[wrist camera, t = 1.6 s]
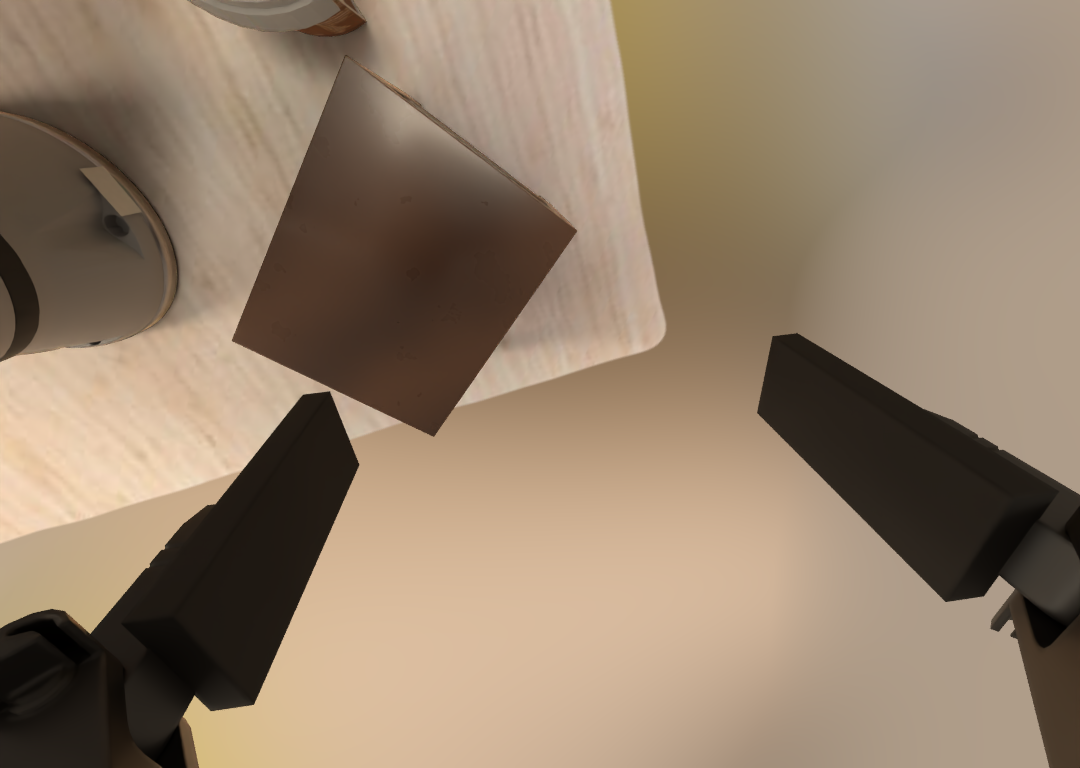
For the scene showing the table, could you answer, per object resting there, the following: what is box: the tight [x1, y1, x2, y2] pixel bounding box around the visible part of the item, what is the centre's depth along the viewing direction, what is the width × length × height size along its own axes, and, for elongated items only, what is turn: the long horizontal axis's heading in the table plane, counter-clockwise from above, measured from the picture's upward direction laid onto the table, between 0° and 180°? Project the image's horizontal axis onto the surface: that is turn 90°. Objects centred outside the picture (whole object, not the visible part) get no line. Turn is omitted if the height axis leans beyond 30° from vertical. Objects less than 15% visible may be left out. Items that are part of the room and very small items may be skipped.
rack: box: [232, 55, 577, 437], centre depth 27 cm, size 12×15×12 cm
